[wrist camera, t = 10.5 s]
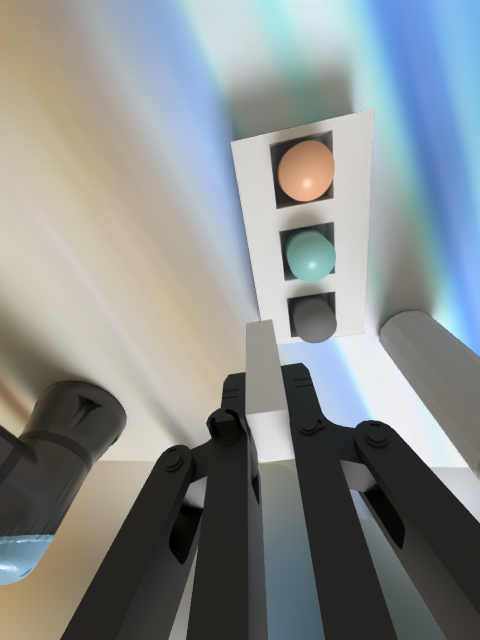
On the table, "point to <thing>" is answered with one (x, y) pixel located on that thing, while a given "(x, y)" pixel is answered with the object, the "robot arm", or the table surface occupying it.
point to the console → (309, 220)
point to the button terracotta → (306, 170)
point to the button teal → (309, 254)
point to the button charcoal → (313, 318)
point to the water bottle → (439, 377)
